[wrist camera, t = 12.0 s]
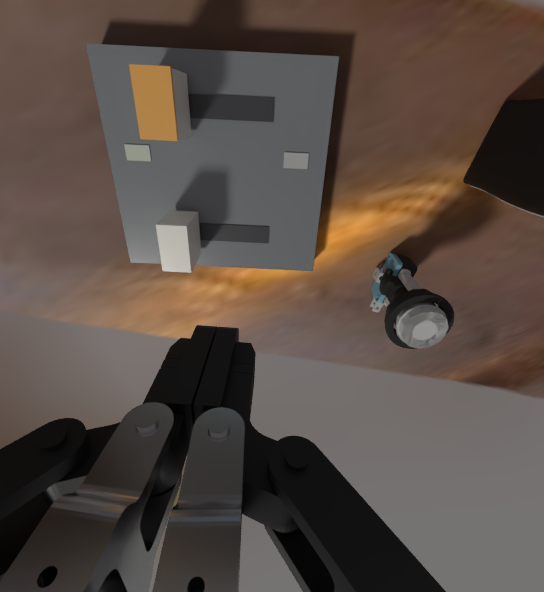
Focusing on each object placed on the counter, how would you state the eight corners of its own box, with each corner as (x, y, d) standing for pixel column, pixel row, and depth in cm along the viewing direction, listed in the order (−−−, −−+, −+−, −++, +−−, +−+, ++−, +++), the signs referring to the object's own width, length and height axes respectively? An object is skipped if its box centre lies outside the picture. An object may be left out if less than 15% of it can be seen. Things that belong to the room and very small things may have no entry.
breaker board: (334, 60, 24) (351, 45, 19) (311, 262, 33) (317, 294, 27) (99, 48, 24) (45, 29, 18) (138, 254, 33) (109, 283, 27)
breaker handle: (187, 72, 23) (170, 66, 19) (192, 136, 25) (177, 141, 21) (152, 71, 23) (128, 64, 19) (160, 134, 25) (140, 139, 21)
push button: (392, 309, 36) (428, 373, 27) (348, 298, 35) (371, 360, 26) (422, 257, 32) (474, 311, 24) (374, 243, 32) (410, 294, 23)
